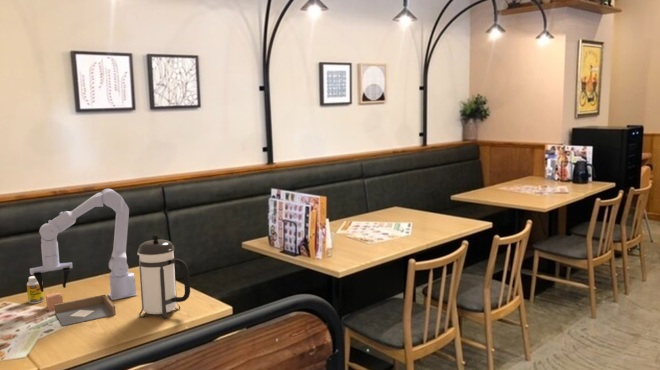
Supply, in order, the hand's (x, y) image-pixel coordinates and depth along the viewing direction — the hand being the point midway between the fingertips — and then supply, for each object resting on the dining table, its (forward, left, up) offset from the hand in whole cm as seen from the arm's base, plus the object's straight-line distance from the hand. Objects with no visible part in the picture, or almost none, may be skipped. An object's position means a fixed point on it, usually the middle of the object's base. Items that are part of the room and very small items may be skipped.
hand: (53, 289), depth 209 cm
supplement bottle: (+5, -12, -8) cm, 15 cm away
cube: (0, 0, -7) cm, 7 cm away
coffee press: (-32, +32, -8) cm, 46 cm away
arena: (-8, +15, -7) cm, 19 cm away
